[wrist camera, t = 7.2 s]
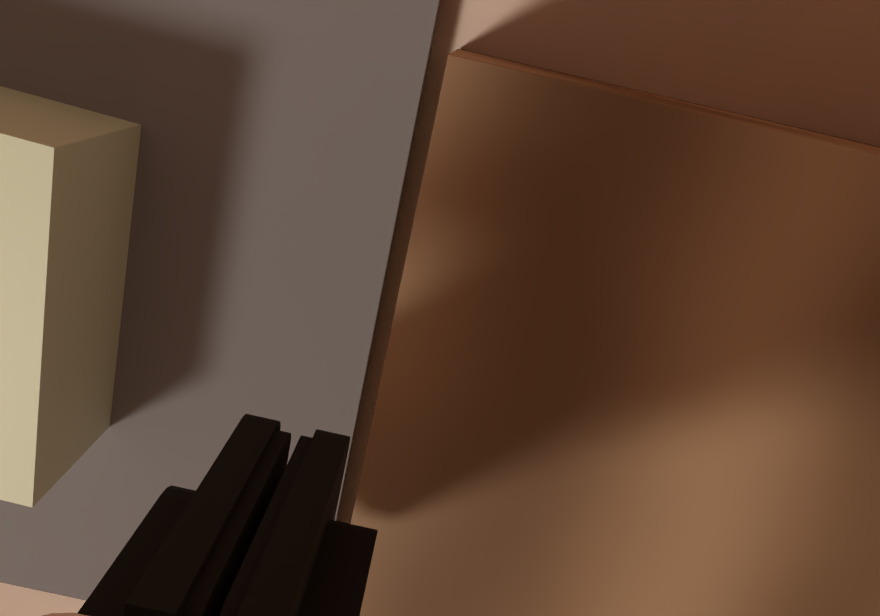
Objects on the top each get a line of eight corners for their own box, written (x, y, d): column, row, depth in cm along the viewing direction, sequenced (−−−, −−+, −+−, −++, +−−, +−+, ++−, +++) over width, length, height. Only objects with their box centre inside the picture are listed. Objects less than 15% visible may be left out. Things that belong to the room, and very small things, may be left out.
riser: (1360, 258, 14) (1680, 341, 10) (1001, 749, 19) (1128, 924, 15) (458, 48, 13) (448, 55, 10) (339, 608, 19) (302, 753, 15)
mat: (443, -14, 13) (442, -16, 13) (314, 632, 19) (310, 647, 18) (-319, -193, 13) (-350, -202, 12) (-212, 521, 19) (-230, 533, 18)
